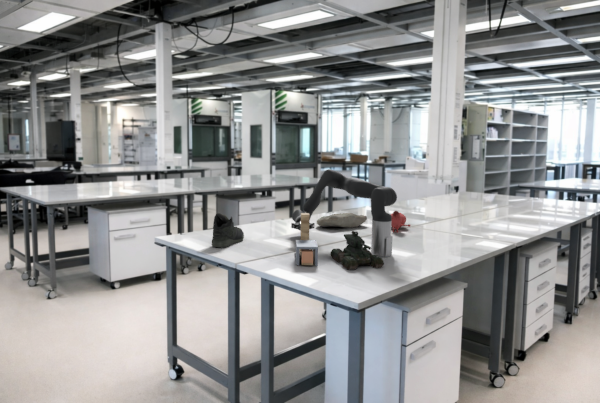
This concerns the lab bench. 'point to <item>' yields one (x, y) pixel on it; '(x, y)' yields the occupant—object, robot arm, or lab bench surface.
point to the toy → (398, 220)
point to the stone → (342, 220)
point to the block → (307, 255)
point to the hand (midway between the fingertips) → (303, 228)
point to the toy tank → (356, 253)
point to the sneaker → (225, 232)
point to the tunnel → (307, 245)
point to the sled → (305, 230)
